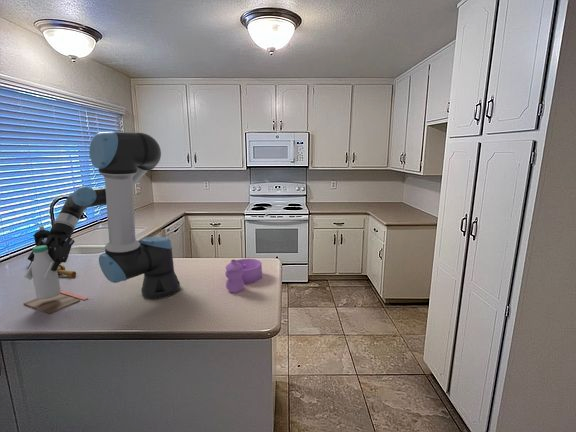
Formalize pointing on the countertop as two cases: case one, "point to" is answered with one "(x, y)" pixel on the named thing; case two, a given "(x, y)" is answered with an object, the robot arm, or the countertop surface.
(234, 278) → the container set
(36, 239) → the aerosol can
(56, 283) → the milk bottle
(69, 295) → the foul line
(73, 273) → the kendama
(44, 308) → the board
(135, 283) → the countertop surface
